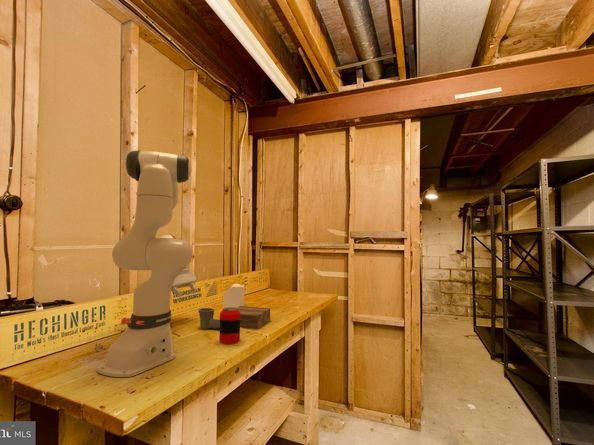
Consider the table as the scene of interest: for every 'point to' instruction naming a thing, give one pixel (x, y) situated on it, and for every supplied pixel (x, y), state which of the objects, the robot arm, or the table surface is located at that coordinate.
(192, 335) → the table surface
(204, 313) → the pipe
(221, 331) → the soda can
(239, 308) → the walnut block
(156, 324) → the robot arm
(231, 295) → the corner bracket
